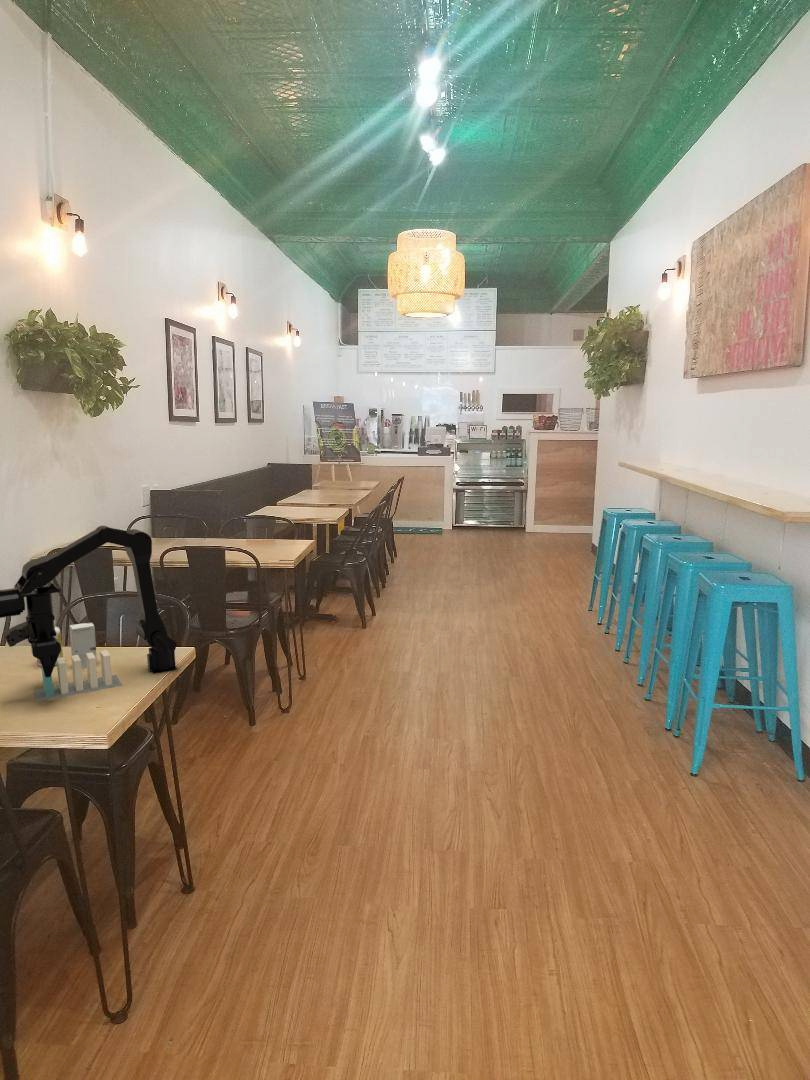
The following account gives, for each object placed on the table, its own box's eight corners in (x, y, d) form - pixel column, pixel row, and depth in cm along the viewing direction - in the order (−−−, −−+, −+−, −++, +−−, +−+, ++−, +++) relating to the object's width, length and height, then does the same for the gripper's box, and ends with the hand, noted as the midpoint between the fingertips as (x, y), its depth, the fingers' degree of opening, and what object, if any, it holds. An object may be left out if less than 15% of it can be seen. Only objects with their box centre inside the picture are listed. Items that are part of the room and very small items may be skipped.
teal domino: (50, 689, 185) (47, 659, 183) (53, 695, 181) (50, 665, 179) (43, 690, 184) (41, 660, 183) (46, 697, 180) (43, 666, 178)
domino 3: (94, 681, 190) (92, 652, 189) (98, 687, 186) (95, 657, 185) (88, 682, 190) (85, 653, 188) (91, 688, 185) (88, 658, 184)
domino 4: (108, 678, 192) (106, 650, 191) (112, 684, 188) (110, 655, 187) (102, 679, 191) (100, 651, 190) (105, 685, 187) (103, 656, 186)
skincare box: (74, 671, 199) (70, 629, 197) (71, 666, 203) (68, 625, 200) (98, 666, 202) (95, 625, 200) (95, 662, 206) (91, 621, 204)
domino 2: (80, 683, 189) (77, 654, 187) (83, 690, 184) (80, 660, 183) (73, 685, 188) (71, 655, 186) (76, 691, 184) (74, 661, 182)
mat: (116, 676, 195) (116, 674, 195) (122, 686, 188) (122, 685, 187) (33, 691, 185) (33, 689, 185) (37, 703, 177) (37, 701, 177)
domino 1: (65, 686, 187) (63, 657, 185) (68, 692, 183) (65, 662, 181) (59, 687, 186) (56, 658, 184) (61, 694, 182) (58, 664, 180)
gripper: (1, 607, 182) (7, 666, 185) (5, 626, 166) (12, 689, 169) (49, 601, 188) (55, 658, 191) (58, 618, 172) (64, 680, 175)
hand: (46, 671), depth 181 cm, fingers open, 9 cm apart
